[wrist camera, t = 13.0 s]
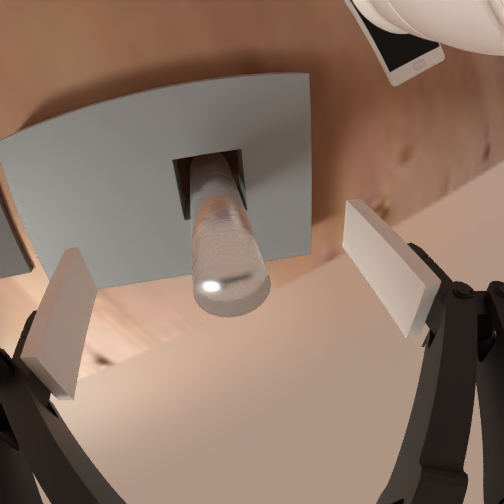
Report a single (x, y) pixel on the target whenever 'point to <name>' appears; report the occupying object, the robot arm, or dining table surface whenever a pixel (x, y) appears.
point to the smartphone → (399, 50)
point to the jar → (442, 21)
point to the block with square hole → (162, 173)
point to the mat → (10, 248)
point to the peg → (223, 242)
